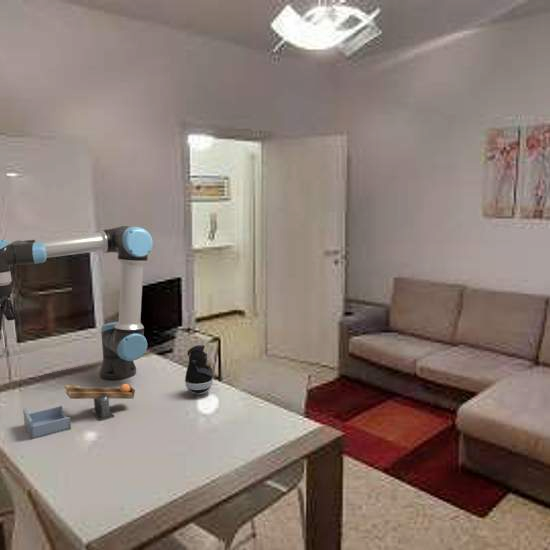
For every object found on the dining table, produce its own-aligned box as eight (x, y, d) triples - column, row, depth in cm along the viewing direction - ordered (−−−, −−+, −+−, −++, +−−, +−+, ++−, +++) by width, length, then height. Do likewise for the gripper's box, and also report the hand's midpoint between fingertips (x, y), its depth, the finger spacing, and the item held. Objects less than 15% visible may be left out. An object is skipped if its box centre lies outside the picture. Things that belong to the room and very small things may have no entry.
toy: (211, 399, 187) (209, 348, 184) (183, 399, 188) (180, 348, 185) (215, 388, 198) (213, 340, 195) (188, 389, 198) (186, 340, 195)
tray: (62, 416, 174) (61, 400, 173) (70, 429, 164) (69, 411, 163) (24, 425, 167) (23, 409, 166) (31, 439, 157) (29, 421, 157)
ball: (128, 391, 183) (128, 382, 182) (131, 394, 180) (132, 385, 180) (118, 392, 181) (118, 383, 180) (121, 396, 178) (122, 386, 177)
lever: (121, 387, 190) (123, 379, 190) (133, 398, 179) (135, 389, 179) (61, 387, 177) (63, 378, 177) (70, 398, 166) (72, 389, 166)
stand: (104, 406, 182) (102, 385, 181) (114, 417, 173) (112, 395, 172) (90, 410, 179) (88, 389, 178) (99, 420, 170) (98, 398, 169)
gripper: (-2, 278, 183) (4, 334, 186) (-26, 291, 159) (-18, 354, 162) (20, 277, 185) (26, 332, 188) (0, 289, 161) (7, 352, 164)
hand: (6, 343), depth 175 cm, fingers open, 13 cm apart
